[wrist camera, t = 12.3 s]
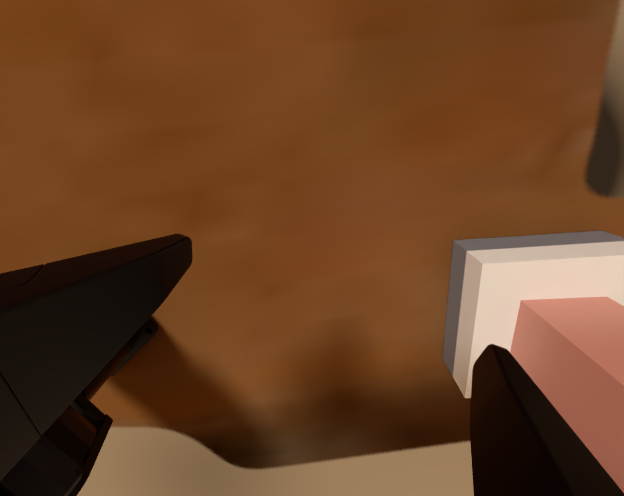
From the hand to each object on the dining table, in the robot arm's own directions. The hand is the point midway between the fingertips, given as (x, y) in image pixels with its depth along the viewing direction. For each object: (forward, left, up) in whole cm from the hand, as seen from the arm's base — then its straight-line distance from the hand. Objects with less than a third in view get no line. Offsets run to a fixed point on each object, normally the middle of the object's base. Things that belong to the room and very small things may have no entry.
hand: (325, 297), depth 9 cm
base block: (+5, -15, -12) cm, 21 cm away
